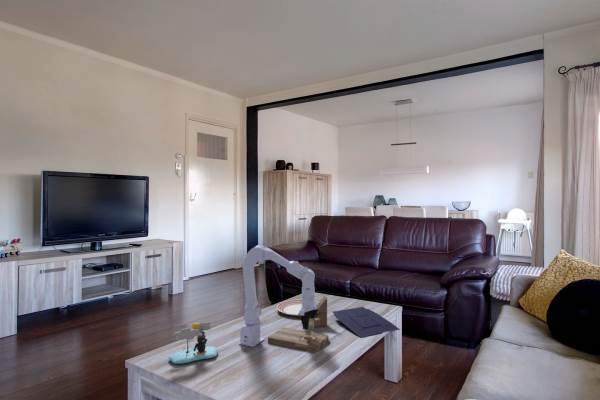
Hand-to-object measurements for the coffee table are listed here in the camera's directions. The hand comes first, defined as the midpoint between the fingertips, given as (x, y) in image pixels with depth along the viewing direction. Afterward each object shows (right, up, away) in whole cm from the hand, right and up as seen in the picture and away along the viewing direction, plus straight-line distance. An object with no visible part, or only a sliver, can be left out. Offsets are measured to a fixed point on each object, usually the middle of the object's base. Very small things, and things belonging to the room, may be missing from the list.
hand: (308, 326), depth 169 cm
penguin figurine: (-47, -8, -15) cm, 50 cm away
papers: (+29, -8, +25) cm, 39 cm away
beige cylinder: (0, -3, 0) cm, 3 cm away
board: (-5, -8, +2) cm, 9 cm away
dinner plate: (-4, -8, +47) cm, 48 cm away
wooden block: (+5, -8, +23) cm, 25 cm away
